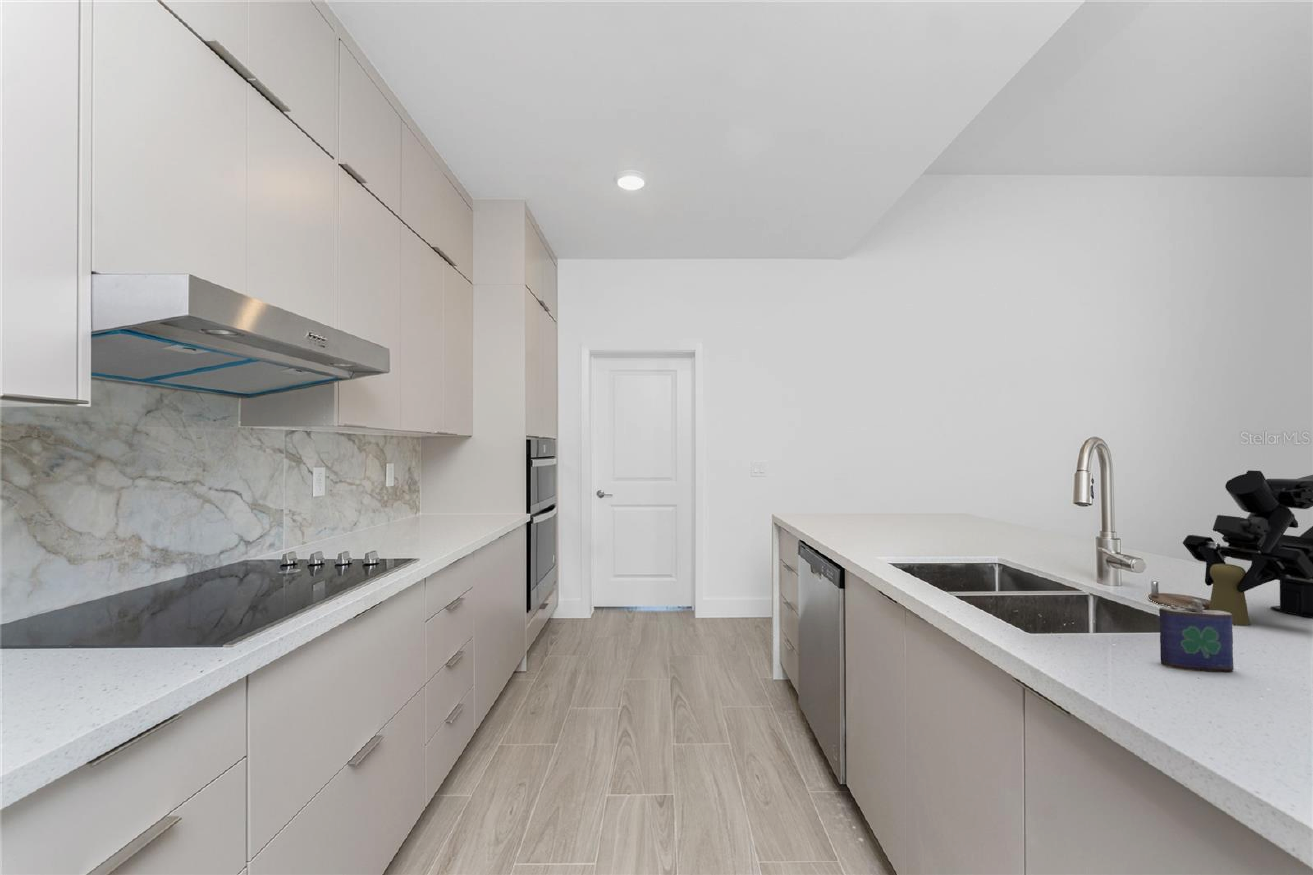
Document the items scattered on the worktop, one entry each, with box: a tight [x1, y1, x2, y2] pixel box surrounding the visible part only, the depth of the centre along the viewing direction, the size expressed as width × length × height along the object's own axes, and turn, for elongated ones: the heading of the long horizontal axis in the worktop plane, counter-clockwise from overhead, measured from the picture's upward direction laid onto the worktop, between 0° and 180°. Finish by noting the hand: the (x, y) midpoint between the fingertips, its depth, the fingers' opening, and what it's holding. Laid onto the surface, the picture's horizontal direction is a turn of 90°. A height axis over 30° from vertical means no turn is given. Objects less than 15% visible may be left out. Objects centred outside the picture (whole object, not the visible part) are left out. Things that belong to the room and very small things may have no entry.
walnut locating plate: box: [1147, 580, 1210, 610], centre depth 126 cm, size 11×11×4 cm
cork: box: [1209, 563, 1251, 627], centre depth 114 cm, size 6×6×11 cm
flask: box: [1158, 599, 1234, 673], centre depth 91 cm, size 9×3×11 cm, turn 74°
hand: (1222, 587), depth 113 cm, fingers closed on cork, 5 cm apart
